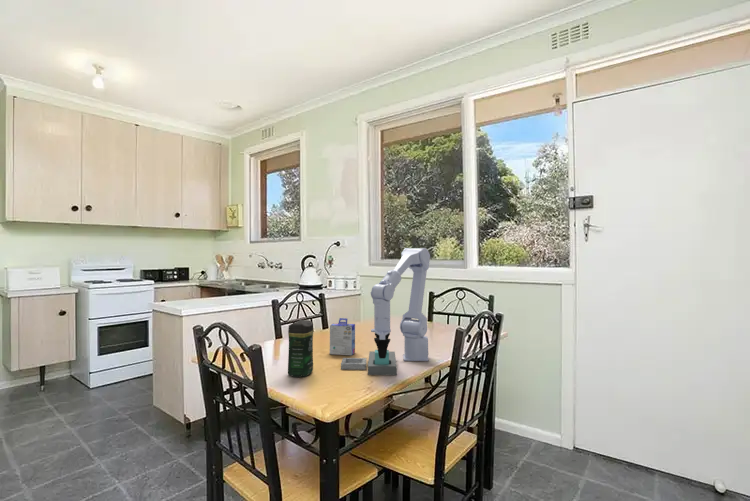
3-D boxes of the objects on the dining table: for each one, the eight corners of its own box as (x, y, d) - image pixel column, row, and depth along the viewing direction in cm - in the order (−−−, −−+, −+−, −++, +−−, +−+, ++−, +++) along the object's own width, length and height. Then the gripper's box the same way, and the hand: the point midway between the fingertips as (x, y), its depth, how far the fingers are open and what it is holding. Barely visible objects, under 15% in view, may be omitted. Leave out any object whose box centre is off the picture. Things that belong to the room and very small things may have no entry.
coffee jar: (307, 378, 135) (307, 323, 135) (284, 377, 137) (284, 322, 137) (316, 370, 145) (316, 318, 145) (295, 368, 146) (295, 318, 146)
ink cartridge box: (355, 352, 169) (355, 318, 169) (352, 356, 164) (352, 320, 164) (333, 351, 171) (333, 317, 171) (329, 354, 166) (329, 319, 166)
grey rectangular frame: (366, 363, 154) (366, 358, 153) (365, 369, 146) (365, 364, 145) (342, 363, 154) (342, 357, 154) (340, 369, 146) (340, 363, 146)
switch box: (394, 359, 159) (394, 351, 159) (396, 375, 139) (396, 365, 139) (369, 358, 159) (369, 350, 159) (367, 374, 139) (367, 365, 139)
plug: (388, 369, 146) (388, 345, 146) (388, 372, 142) (388, 348, 142) (374, 369, 146) (374, 345, 146) (374, 372, 142) (374, 348, 142)
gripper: (371, 314, 152) (371, 349, 152) (370, 321, 137) (370, 360, 137) (390, 314, 151) (390, 349, 152) (391, 321, 137) (391, 360, 137)
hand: (382, 355), depth 144 cm, fingers open, 7 cm apart
